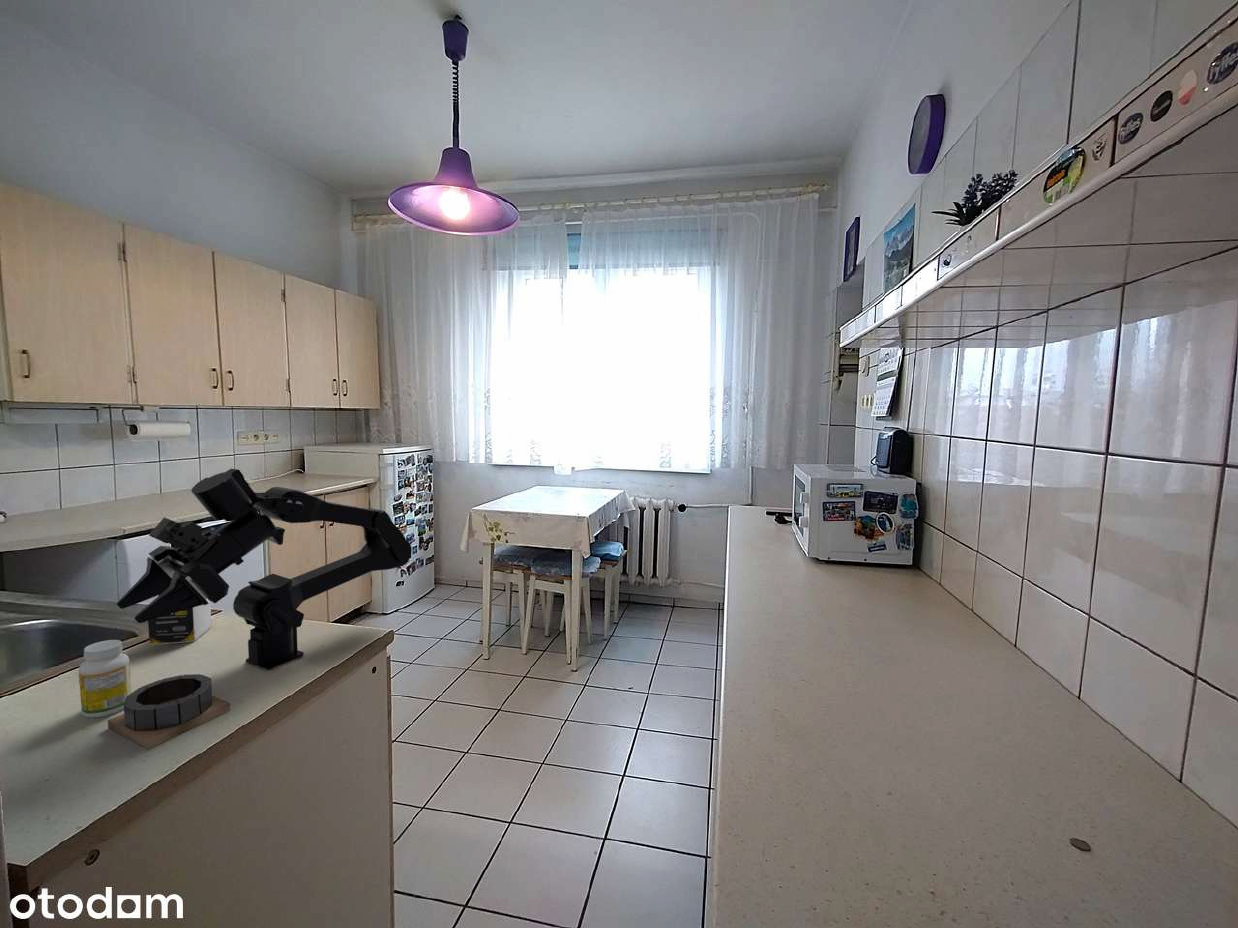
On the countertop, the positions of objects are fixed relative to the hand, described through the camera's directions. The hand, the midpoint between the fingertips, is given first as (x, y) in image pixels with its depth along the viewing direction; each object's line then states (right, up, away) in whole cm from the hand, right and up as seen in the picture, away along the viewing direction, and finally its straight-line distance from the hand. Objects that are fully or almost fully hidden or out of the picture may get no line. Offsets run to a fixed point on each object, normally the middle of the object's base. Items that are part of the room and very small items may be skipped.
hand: (127, 613), depth 77 cm
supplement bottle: (-4, -14, +1) cm, 15 cm away
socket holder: (+7, -15, -1) cm, 16 cm away
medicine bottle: (-13, -12, +25) cm, 30 cm away
